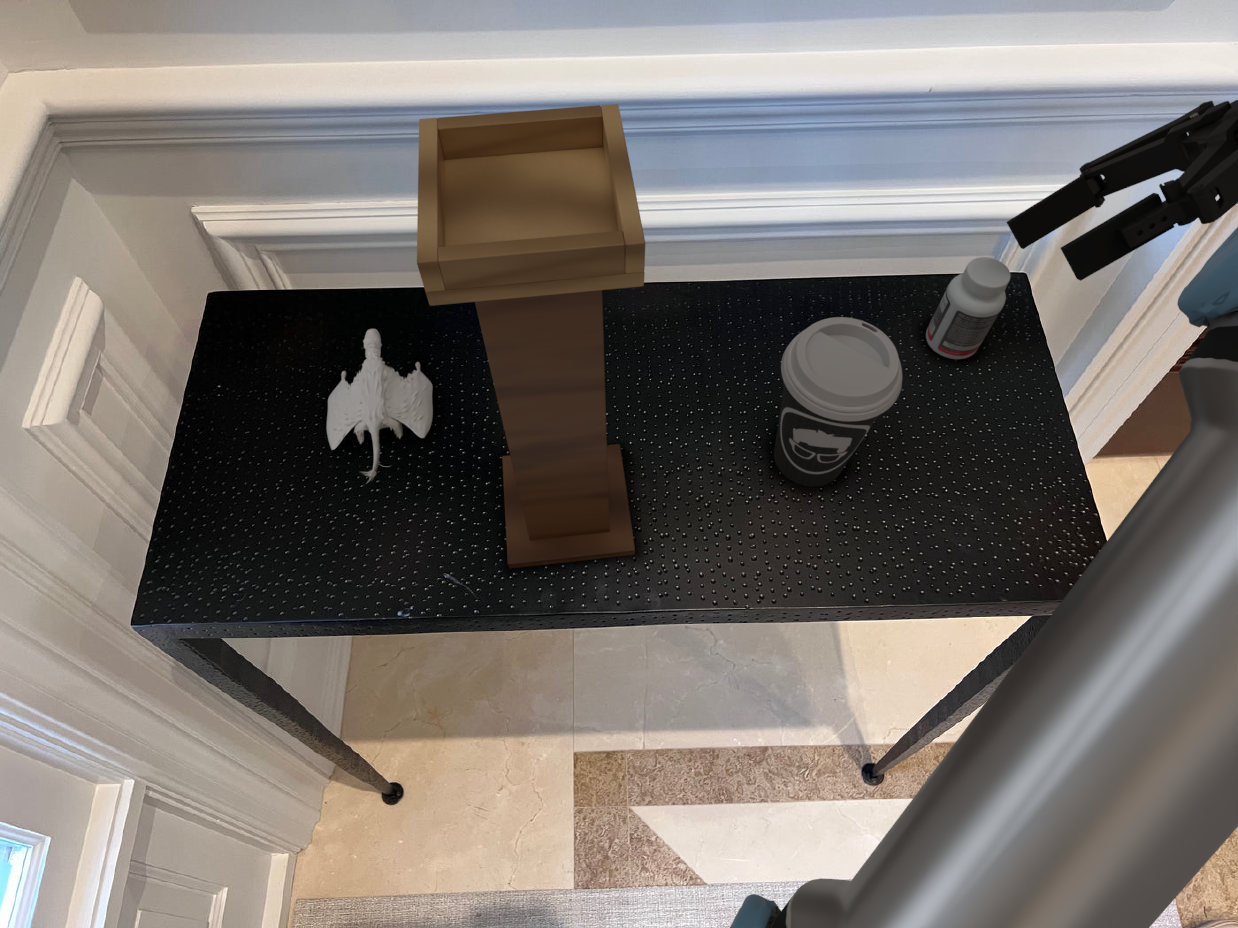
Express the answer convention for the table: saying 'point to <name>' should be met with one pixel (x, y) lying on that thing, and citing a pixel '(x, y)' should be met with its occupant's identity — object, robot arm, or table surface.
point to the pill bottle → (968, 308)
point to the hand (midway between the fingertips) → (1039, 249)
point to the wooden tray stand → (539, 304)
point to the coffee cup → (832, 396)
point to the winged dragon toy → (379, 401)
